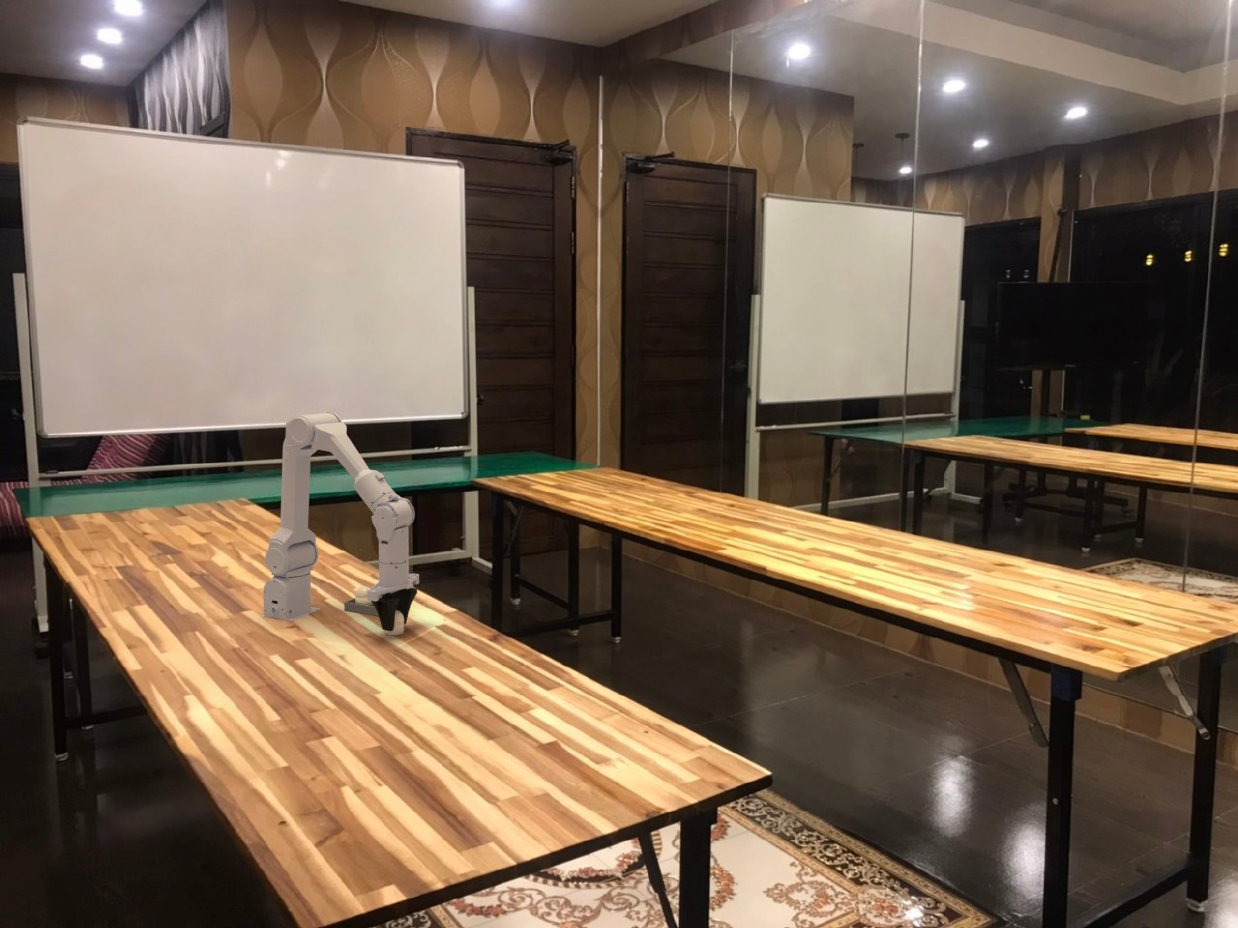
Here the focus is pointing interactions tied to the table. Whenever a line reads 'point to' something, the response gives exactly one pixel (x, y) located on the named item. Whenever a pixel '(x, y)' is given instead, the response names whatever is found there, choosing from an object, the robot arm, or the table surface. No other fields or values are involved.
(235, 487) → the table surface
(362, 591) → the carton egg
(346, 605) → the egg carton
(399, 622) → the cream rounded cylinder
